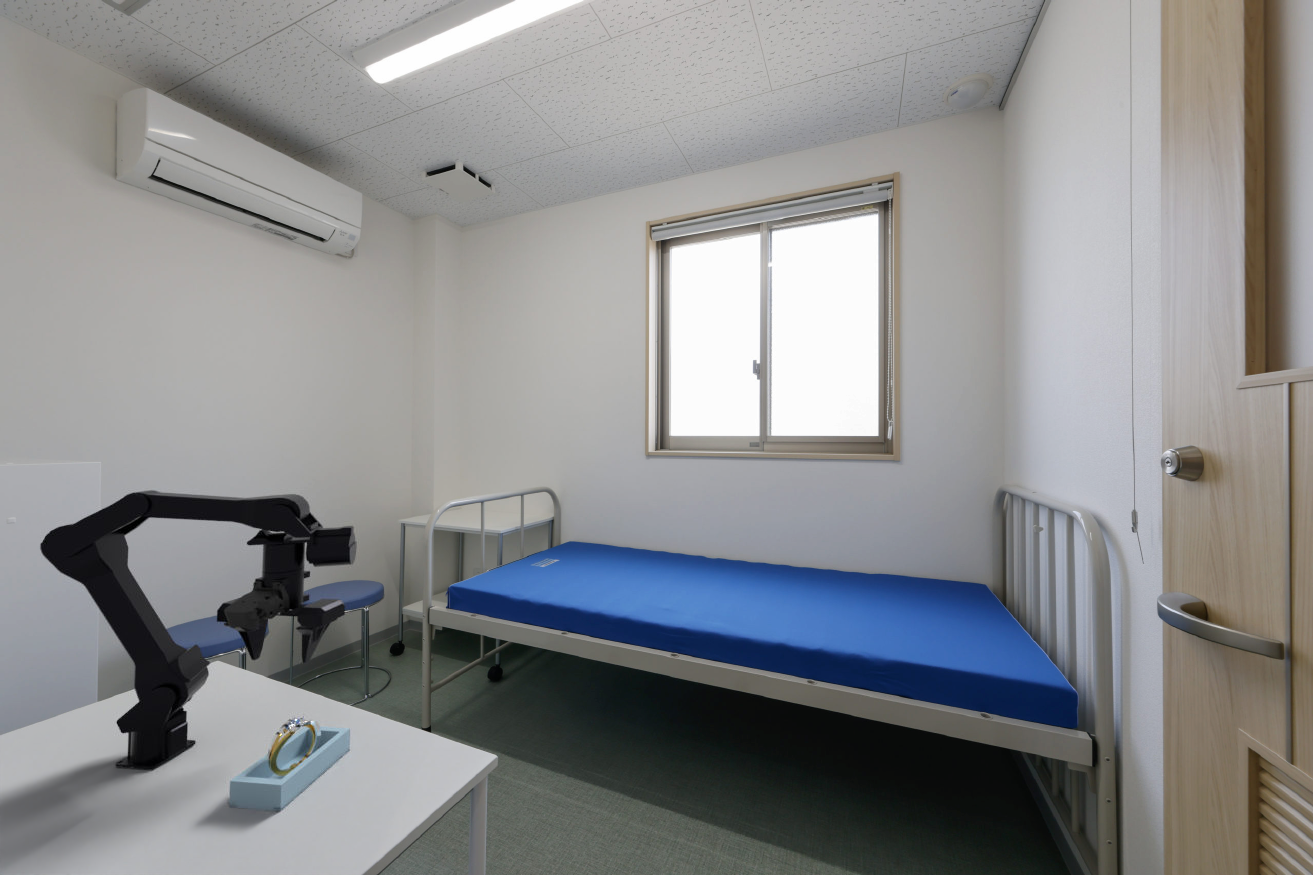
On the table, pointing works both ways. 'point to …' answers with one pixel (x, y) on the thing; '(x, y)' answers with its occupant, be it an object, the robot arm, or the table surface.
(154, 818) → the table surface
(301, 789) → the box
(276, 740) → the ring
